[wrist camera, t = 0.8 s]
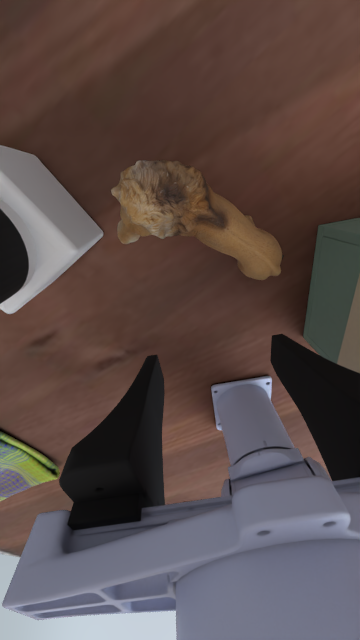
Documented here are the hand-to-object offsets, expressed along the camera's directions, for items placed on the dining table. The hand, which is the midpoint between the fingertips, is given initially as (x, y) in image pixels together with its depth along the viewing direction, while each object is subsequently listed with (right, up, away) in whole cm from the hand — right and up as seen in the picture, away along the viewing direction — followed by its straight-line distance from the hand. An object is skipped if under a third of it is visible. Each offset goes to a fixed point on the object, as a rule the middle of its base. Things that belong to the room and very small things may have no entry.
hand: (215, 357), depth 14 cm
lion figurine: (0, +11, +6) cm, 12 cm away
